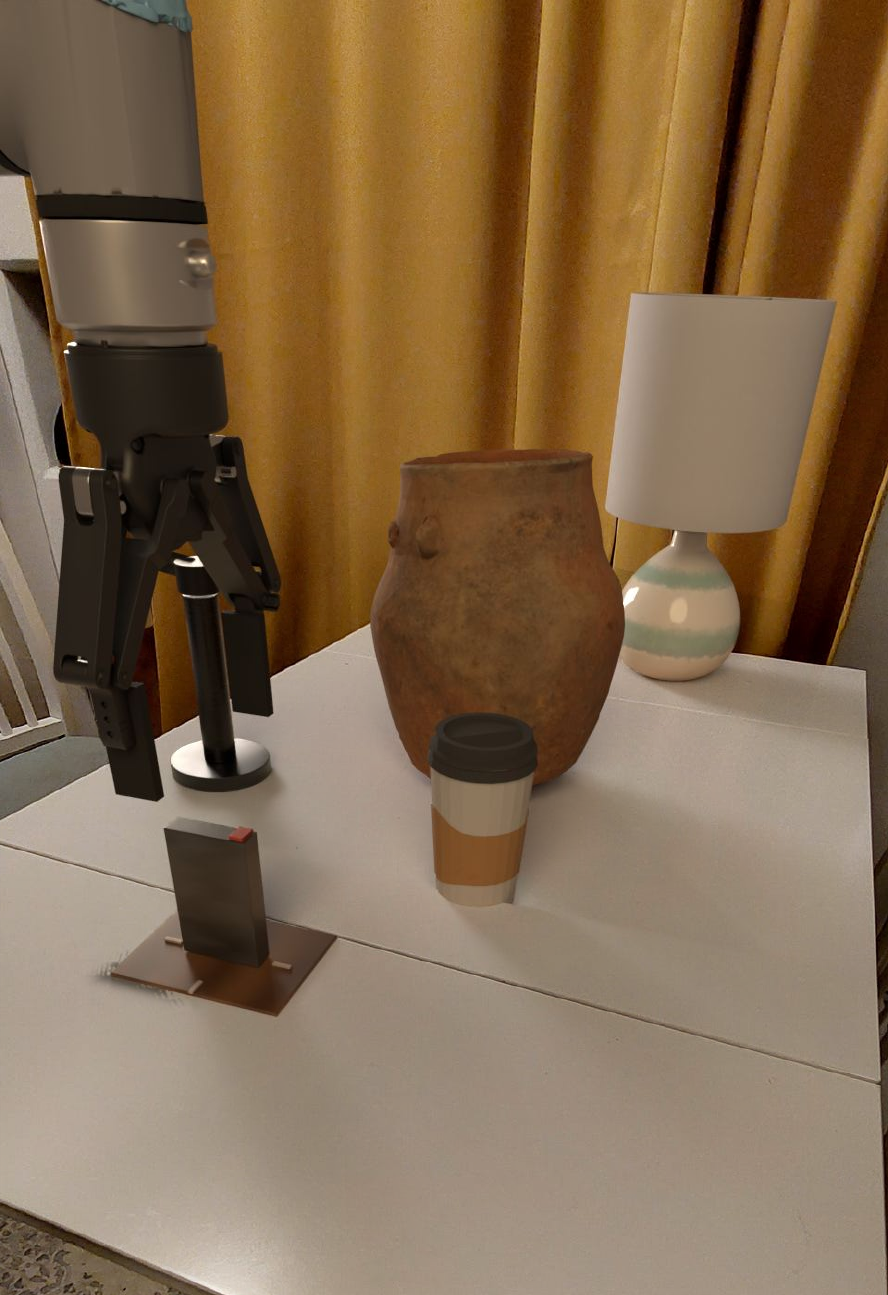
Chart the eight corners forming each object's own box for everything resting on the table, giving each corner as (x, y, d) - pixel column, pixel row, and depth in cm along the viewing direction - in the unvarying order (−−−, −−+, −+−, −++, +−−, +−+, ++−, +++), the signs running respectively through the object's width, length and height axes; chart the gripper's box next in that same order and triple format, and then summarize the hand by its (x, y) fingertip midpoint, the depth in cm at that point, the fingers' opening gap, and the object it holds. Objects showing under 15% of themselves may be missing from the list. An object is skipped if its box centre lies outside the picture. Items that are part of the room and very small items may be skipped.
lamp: (636, 634, 138) (687, 293, 113) (776, 669, 127) (866, 301, 103) (554, 671, 124) (593, 291, 100) (704, 713, 114) (788, 301, 89)
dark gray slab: (184, 951, 68) (162, 824, 62) (196, 937, 69) (176, 812, 63) (258, 968, 67) (243, 840, 60) (270, 954, 68) (256, 828, 62)
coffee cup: (541, 920, 76) (560, 745, 67) (446, 939, 74) (453, 760, 65) (499, 870, 82) (511, 704, 73) (410, 887, 80) (411, 716, 71)
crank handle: (237, 648, 90) (227, 559, 85) (203, 658, 87) (192, 566, 82) (148, 618, 96) (135, 533, 92) (115, 626, 94) (99, 540, 89)
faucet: (153, 782, 94) (121, 601, 84) (204, 745, 102) (181, 574, 91) (242, 799, 92) (221, 614, 81) (287, 759, 100) (273, 586, 89)
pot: (486, 712, 112) (502, 420, 94) (651, 777, 99) (707, 453, 80) (328, 768, 98) (311, 440, 80) (494, 853, 85) (520, 483, 67)
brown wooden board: (114, 996, 67) (108, 971, 66) (188, 922, 75) (185, 899, 73) (278, 1037, 64) (275, 1012, 63) (338, 956, 72) (337, 932, 70)
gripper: (42, 355, 35) (141, 852, 48) (320, 330, 54) (337, 692, 67) (-118, 347, 37) (18, 828, 50) (205, 325, 56) (243, 678, 69)
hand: (201, 751), depth 59 cm, fingers open, 13 cm apart
